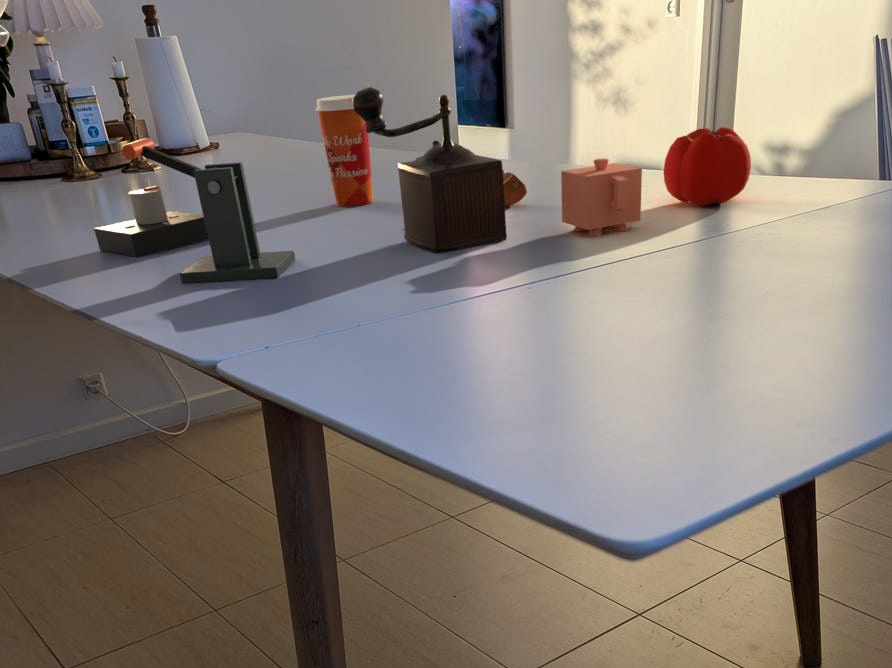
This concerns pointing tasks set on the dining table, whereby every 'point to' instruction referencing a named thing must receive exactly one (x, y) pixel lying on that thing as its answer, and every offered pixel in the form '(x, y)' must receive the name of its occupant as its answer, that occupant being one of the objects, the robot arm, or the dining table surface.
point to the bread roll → (512, 189)
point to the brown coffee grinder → (443, 185)
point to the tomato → (707, 166)
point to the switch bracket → (231, 231)
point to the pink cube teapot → (601, 196)
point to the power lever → (157, 156)
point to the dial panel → (152, 235)
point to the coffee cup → (346, 150)
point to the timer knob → (148, 206)
